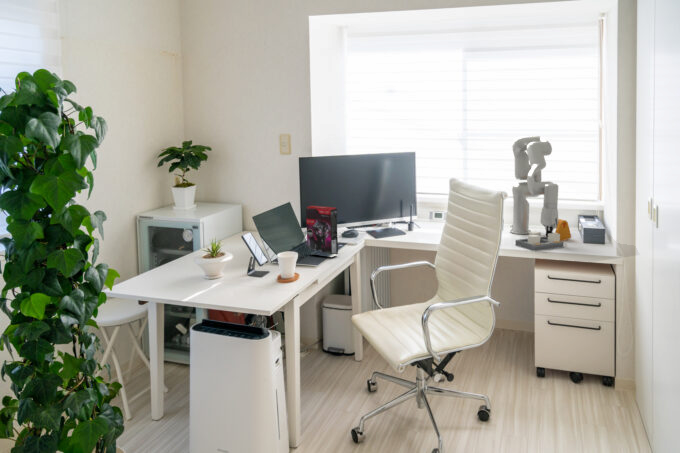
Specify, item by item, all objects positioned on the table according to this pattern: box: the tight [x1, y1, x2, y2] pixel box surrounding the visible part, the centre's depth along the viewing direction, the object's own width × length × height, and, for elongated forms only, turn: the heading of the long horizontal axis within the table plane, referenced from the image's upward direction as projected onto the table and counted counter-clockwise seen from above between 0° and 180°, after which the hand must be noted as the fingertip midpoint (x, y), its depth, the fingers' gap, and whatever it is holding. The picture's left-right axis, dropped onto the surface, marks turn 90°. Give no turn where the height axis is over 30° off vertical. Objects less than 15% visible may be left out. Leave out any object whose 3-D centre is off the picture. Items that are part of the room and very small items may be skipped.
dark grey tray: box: [515, 235, 565, 252], centre depth 354 cm, size 16×21×3 cm
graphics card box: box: [305, 205, 339, 255], centre depth 340 cm, size 17×7×27 cm, turn 56°
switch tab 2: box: [527, 234, 540, 245], centre depth 348 cm, size 4×5×5 cm
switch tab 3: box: [548, 232, 560, 242], centre depth 352 cm, size 4×5×5 cm
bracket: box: [554, 218, 572, 241], centre depth 369 cm, size 11×7×12 cm, turn 110°
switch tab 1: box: [528, 230, 542, 237], centre depth 357 cm, size 4×5×5 cm
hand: (548, 237), depth 355 cm, fingers closed
